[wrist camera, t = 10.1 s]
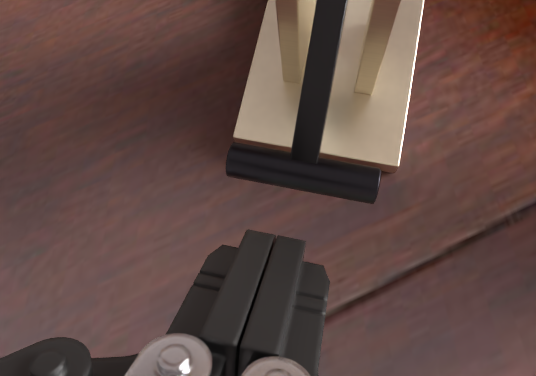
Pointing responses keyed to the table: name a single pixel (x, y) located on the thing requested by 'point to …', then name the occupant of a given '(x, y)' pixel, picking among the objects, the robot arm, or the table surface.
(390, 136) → the bracket
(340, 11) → the lever
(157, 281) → the table surface
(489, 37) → the table surface
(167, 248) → the table surface
